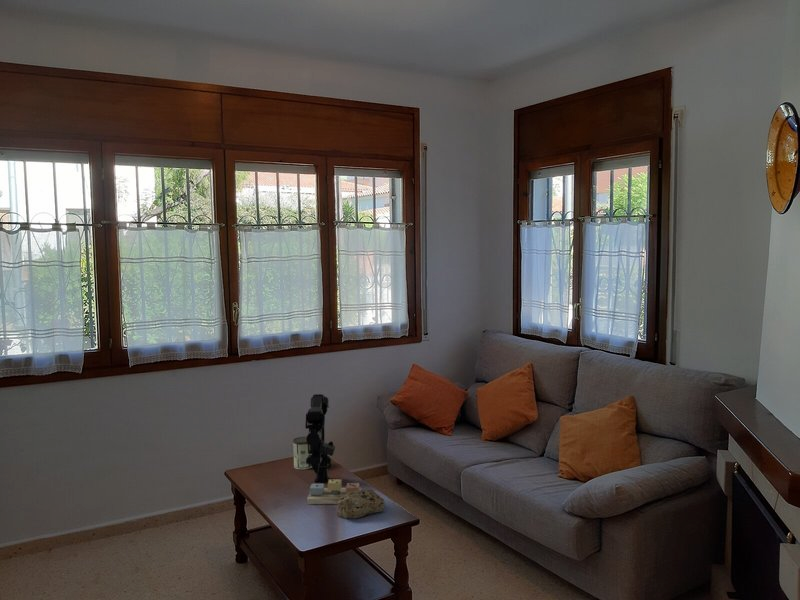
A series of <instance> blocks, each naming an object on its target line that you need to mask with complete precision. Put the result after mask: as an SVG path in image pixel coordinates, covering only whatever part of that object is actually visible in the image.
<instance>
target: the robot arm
mask: <svg viewBox="0 0 800 600" xmlns="http://www.w3.org/2000/svg"><path fill="white" fill-rule="evenodd" d="M329 401H330V400H329V398H328V397H327V396H325V394H322V393H320V394H318V393H316V394H312V397H311V398H310V408H309V409H308V410H307V412H306V413H305V429H307V430H308V432H307V436H306V437H307V438H306V440H307V443H308V445H309V454H312V455H309V456H308V457H307V458H306V464H311V466H312V468H311V469H312V470H313V472H314V474H315V479H314V483H328V482H329V479H330V476H329V471H328V470H329V469H331V468H332V467H333V466H332V464H333V463H332V458H331V457H332V456H334V453H335V450H336V445H335V443H334V441H332V440H330V441H329V442H328V443H327V442H326V429H325V428H326V427H325V426H326V425H325V424H326V423H325V422H326V420H325V419H326V415H327V413H328V411H329V410H328V408H329V409H330V402H329ZM330 456H331V457H330Z"/></svg>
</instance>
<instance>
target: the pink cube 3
mask: <svg viewBox="0 0 800 600" xmlns="http://www.w3.org/2000/svg"><path fill="white" fill-rule="evenodd" d="M345 488H346V493H347V492H350V491H351V492H353V491H355V490H360V489H359V488H360V482H347V483H346V486H345Z"/></svg>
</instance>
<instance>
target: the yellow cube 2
mask: <svg viewBox="0 0 800 600" xmlns="http://www.w3.org/2000/svg"><path fill="white" fill-rule="evenodd" d="M342 480H343V479H341V478H340V479H335V478H333V479H330V478H329V480H328V482H327V488H328V491H331V495H338V494H339V490H341V488H342V487H343V486H342V485H343V481H342Z"/></svg>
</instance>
